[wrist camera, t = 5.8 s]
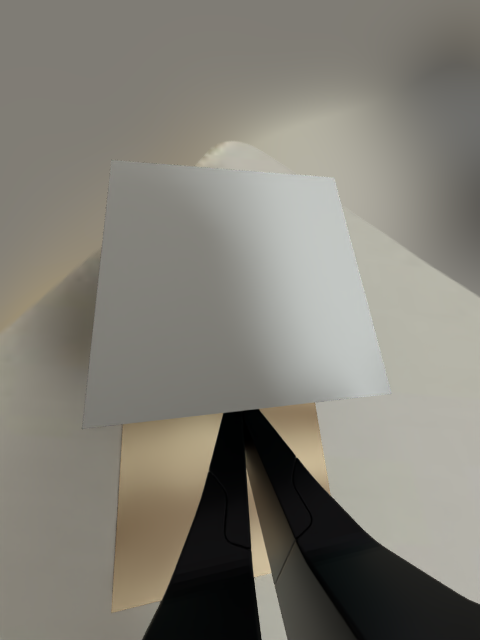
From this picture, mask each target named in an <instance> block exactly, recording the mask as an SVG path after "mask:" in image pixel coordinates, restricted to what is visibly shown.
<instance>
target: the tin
mask: <svg viewBox="0 0 480 640" xmlns="http://www.w3.org/2000/svg"><path fill="white" fill-rule="evenodd" d="M384 394H392V393H391V389H390V385H389V381H388V378H387V374H386V370H385V366H384V363H383V359H382V355H381V351H380V348H379V344H378V340H377V336H376V333H375V329H374V325H373V321H372V318H371V314H370V310H369V306H368V303H367V299H366V295H365V291H364V288H363V284H362V280H361V276H360V273H359V269H358V265H357V261H356V258H355V254H354V250H353V246H352V243H351V239H350V235H349V231H348V228H347V224H346V220H345V216H344V213H343V209H342V205H341V202H340V198H339V194H338V190H337V186H336V183H335V179H334V178H332V177H320V176H307V175H295V174H282V173H270V172H257V171H244V170H232V169H219V168H207V167H194V166H181V165H169V164H157V163H144V162H131V161H118V160H111V168H110V178H109V187H108V196H107V205H106V214H105V224H104V232H103V242H102V251H101V260H100V269H99V278H98V287H97V297H96V306H95V315H94V324H93V333H92V342H91V352H90V361H89V370H88V379H87V388H86V397H85V407H84V416H83V425H82V429H86V428H95V427H103V426H112V425H121V424H130V423H138V422H147V421H156V420H165V419H174V418H182V417H191V416H200V415H209V414H218V413H226V412H235V411H244V410H253V409H261V408H270V407H279V406H288V405H297V404H305V403H314V402H323V401H332V400H341V399H349V398H358V397H367V396H376V395H384Z"/></svg>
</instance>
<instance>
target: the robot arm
mask: <svg viewBox="0 0 480 640" xmlns="http://www.w3.org/2000/svg"><path fill="white" fill-rule="evenodd" d="M246 468H247V472H246ZM247 473H248V477H249V481H250V485H251V489H252V493H253V498H254V502H255V506H256V510H257V514H258V518H259V523H260V527H261V531H262V535H263V539H264V543H265V547H266V552H267V556H268V560H269V564H270V568H271V572H272V577H273V581H274V584H275V589H276V593H277V598H278V602H279V606H280V610H281V614H282V618H283V623H284V627H285V631H286V635H287V639H288V640H480V604H478V603H475V602H473V601H471V600H469V599H467V598H465V597H463V596H462V595H460V594H458V593H456V592H455V591H453V590H452V589H450V588H449V587H447V586H445V585H444V584H442V583H441V582H439V581H437V580H436V579H434V578H433V577H431V576H430V575H428V574H426V573H425V572H423V571H422V570H420V569H418V568H417V567H415V566H414V565H412V564H411V563H409V562H407V561H406V560H404V559H403V558H401V557H399V556H398V555H396V554H395V553H393V552H391V551H390V550H388V549H387V548H385V547H384V546H382V545H381V544H380V543H378V542H377V541H376V540H374V539H373V538H372V537H371V536H370V535H369V534H367V533H366V532H365V531H364V530H363V529H362V528H361V527H360V526H359V525H358V524H357V523H356V522H355V521H354V520H353V519H352V517H351V516H350V515H349V514H348V513H347V512H346V511H345V510H344V509H343V508H342V507H341V506H340V505H339V504H338V503H337V502H336V501H335V500H334V499H333V498H332V497H331V496H330V494H329V493H328V492H327V491H326V490H325V489H324V488H323V487H322V486H321V485H320V484H319V483H318V482H317V480H316V479H315V478H314V477H313V476H312V475H311V473H310V472H309V471H308V470H307V469H306V467H305V466H304V465H303V464H302V462H301V461H300V460H299V459H298V458H296V455H295V454H294V453H293V451H292V450H291V449H290V447H289V446H288V445H287V444H286V442H285V441H284V440H283V439H282V437H281V436H280V435H279V434H278V432H277V431H276V430H275V429H274V427H273V426H272V425H271V424H270V422H269V421H268V420H267V418H266V417H265V416H264V415H263V413H262V412H261V411H260V410H259V409H253V410H244V411H235V412H226V413H223V416H222V420H221V424H220V427H219V431H218V435H217V439H216V443H215V447H214V451H213V455H212V459H211V462H210V466H209V472H208V474H207V478H206V481H205V485H204V489H203V492H202V496H201V499H200V502H199V505H198V508H197V511H196V513H195V516H194V519H193V522H192V525H191V527H190V530H189V533H188V535H187V538H186V540H185V543H184V546H183V548H182V551H181V554H180V556H179V559H178V562H177V564H176V567H175V570H174V572H173V575H172V577H171V580H170V582H169V585H168V587H167V589H166V592H165V594H164V596H163V598H162V600H161V603H160V605H159V607H158V609H157V611H156V613H155V615H154V617H153V619H152V621H151V623H150V625H149V627H148V629H147V631H146V633H145V635H144V637H143V639H142V640H262V639H261V631H260V623H259V615H258V607H257V600H256V592H255V583H254V573H253V562H252V551H251V533H250V517H249V502H248V487H247Z"/></svg>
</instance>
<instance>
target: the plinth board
mask: <svg viewBox="0 0 480 640" xmlns="http://www.w3.org/2000/svg"><path fill="white" fill-rule="evenodd" d="M259 410H260V411H261V412H262V413H263V415H264V416H265V417H266V418H267V420H268V421H269V422H270V424H271V425H272V426H273V427H274V429H275V430H276V431H277V432H278V434H279V435H280V436H281V437H282V439H283V440H284V441H285V442H286V444H287V445H288V446H289V447H290V449H291V450H292V451H293V453H294V454H295V455H296V458H298V459H299V460H300V461H301V462H302V464H303V465H304V466H305V467H306V469H307V470H308V471H309V472H310V473H311V475H312V476H313V477H314V478H315V479H316V480H317V482H318V483H319V484H320V485H321V486H322V487H323V488H324V489H325V490H326V491H327V492H328V493H329V494H330V489H329V483H328V477H327V471H326V465H325V459H324V454H323V448H322V442H321V436H320V430H319V424H318V418H317V412H316V407H315V402H314V403H305V404H297V405H288V406H279V407H270V408H261V409H259ZM222 416H223V413H218V414H209V415H200V416H191V417H182V418H174V419H165V420H156V421H147V422H138V423H130V424H123V432H122V448H121V464H120V480H119V497H118V513H117V529H116V545H115V562H114V578H113V594H112V610H111V613H113V612H117V611H121V610H125V609H129V608H133V607H137V606H141V605H145V604H149V603H153V602H157V601H161V600H162V598H163V596H164V594H165V592H166V589H167V587H168V585H169V582H170V580H171V577H172V575H173V572H174V570H175V567H176V564H177V562H178V559H179V556H180V554H181V551H182V548H183V546H184V543H185V540H186V538H187V535H188V533H189V530H190V527H191V525H192V522H193V519H194V516H195V513H196V511H197V508H198V505H199V502H200V499H201V496H202V492H203V489H204V485H205V481H206V478H207V474H208V472H209V466H210V462H211V459H212V455H213V451H214V447H215V443H216V439H217V435H218V431H219V427H220V424H221V420H222ZM246 472H247V468H246ZM247 487H248V502H249V517H250V533H251V551H252V562H253V573H254V577H257V576H261V575H265V574H269V573H272V572H271V568H270V564H269V560H268V556H267V552H266V547H265V543H264V539H263V535H262V531H261V527H260V523H259V518H258V514H257V510H256V506H255V502H254V498H253V493H252V489H251V485H250V481H249V477H248V473H247ZM330 496H331V495H330Z"/></svg>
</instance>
